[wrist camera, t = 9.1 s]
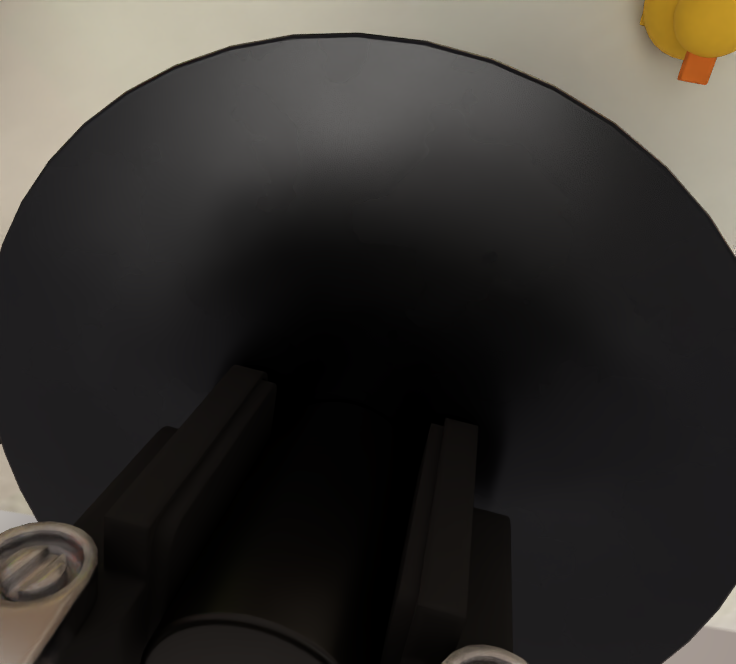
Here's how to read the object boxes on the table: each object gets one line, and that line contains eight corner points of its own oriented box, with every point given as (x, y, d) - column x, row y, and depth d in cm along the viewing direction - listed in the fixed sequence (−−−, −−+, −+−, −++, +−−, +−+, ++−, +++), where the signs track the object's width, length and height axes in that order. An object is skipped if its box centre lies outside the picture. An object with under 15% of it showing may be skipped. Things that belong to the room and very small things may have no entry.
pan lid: (932, 139, 8) (1574, 267, 3) (600, 760, 14) (655, 1153, 9) (2, -43, 10) (-533, -144, 5) (40, 592, 15) (-185, 854, 10)
